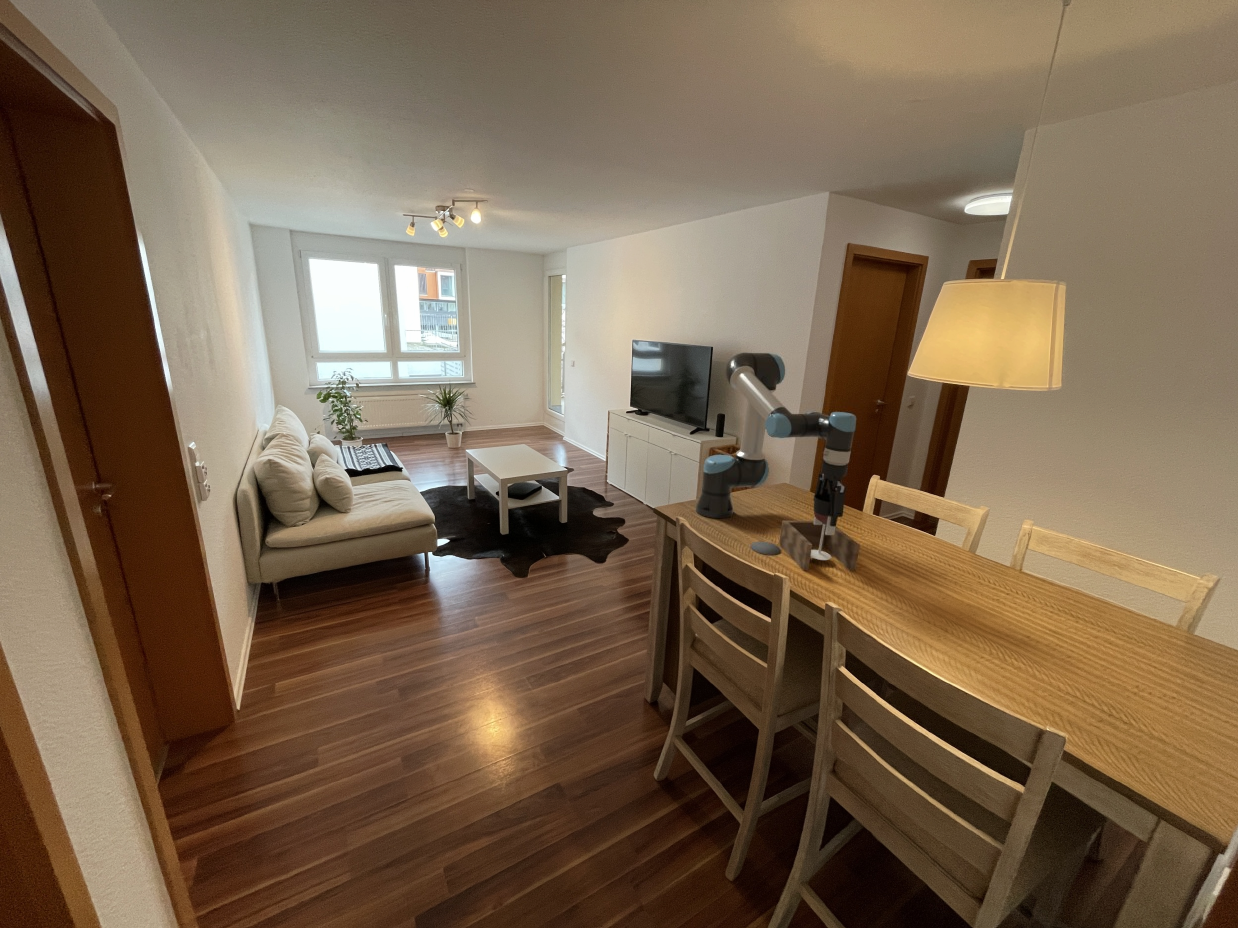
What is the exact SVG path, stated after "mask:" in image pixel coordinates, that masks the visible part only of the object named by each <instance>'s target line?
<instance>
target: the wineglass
mask: <svg viewBox="0 0 1238 928" xmlns="http://www.w3.org/2000/svg"><path fill="white" fill-rule="evenodd" d="M814 495H815V494H814ZM819 497H820V494H817V495H815V498H814V497H813V499H814V500H813V515H814V517H816V518H817V519H818V520H819V521H820V522H822V523H823V528H822V533H821V539H820V545H819V547H818V549H812V550H811V556H810V558H813V559H815V560H816V559H817V560H820V561H827V560H830V559H832V555H831V554H829V553H828V552H826V551H823V550H822V549H823V547H822V542H823V536H824V531H825V525H826V524H827V519H828V515H830V506H831V502H830V495H828V497H827V499H826V500H825V501H822V500H819ZM833 513H834V512H833Z"/></svg>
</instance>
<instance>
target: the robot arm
mask: <svg viewBox="0 0 1238 928" xmlns="http://www.w3.org/2000/svg"><path fill="white" fill-rule="evenodd" d="M785 365H786V364H785V362H784V360H783V359H782V357H781V356H779V354H777V353H776V354H775V353H769V352H740V353H737V354H734V355H733V356H732V357H731V358H730V359H729V360H728V362H727V363H726V365H725V369H724V373H725V378H726V380H727V382H728V383H729V385H730V386H731V387H732V388H733V389H734V390H738V391H739V392H740V393H741V394H742V396H743V397H744V398H745V399H746V400H747V401H746V408H745V414H744V421H743V428H742V436H741V442H740V449H739V450H737V451H736V452H735V456H734V457H735V458H734V457H733V456H732V455H728V454H715V455H711V456H708V457H706V459H705V461H704V462H703V463H704V464H703V469H702V471H703V473H702V484H701V492H700V496H699V497H698V499H697V503H696V504H695V512H696V513H698V515H700V516H703V517H708V518H712V519H726V518H730V517H732V516H733V514H734V506H733V501H732V497H731V494H732V493H731V492H732V489H733V488H745V487H747V488H749V487H750V488H751V487H753V488H754V487H756V486H757V487H758V486H761V485H762V484H765V482H766V481H767V479H768V476H769V473H770V467H769V463H768V461H767V459H766V456H765V454H764V453H763V447H764V442H765V441H764V440H765V434H766V433H767V435H768V436H769V437H771V438H776V439H777V438H778V439H786V438H787V439H788V438H789V439H790V438H819V439H822V440H825V444H824V451H823V456H822V459H823V460H822V462H821V467H820V471H821V473H818V474H817V475H818V477H817V482H816V483H817V484H816V487H815V492H814V495H813V499H812V500H813V501H814V498H815V495H817V494H820V497H819V500H822V501H825V500H826V499H827V497H828V495H830V502H831V506H830V515H828V519H827V525H826V531H825V535H834V533H835V528H836V527H837V522H838V518H842V517H844V508H845V498H846V493H847V489H848V488H847V485H843V484H842V483H843V480H842V478H843V477H846V476H847V473H848V467H849V465H848V464H849V462H850V457H851V452H852V445H853V440H854V435H855V431H856V427H857V426H856V424H857V416H856V415H855V414H853V413H849V412H845V411H843V412H842V411H841V412H840V411H833V412H831V413H830V415H827V414H825V413H820V412H817V411H807V412H806V413H791V412H790V410H788V408H787V407H786V406H784V404H783V403H782V402H781V401H780V400H779V399H778V398H777V397H776V396H775V395H774V394H773V393H774V392H776V389H777V385H780V384H781V383H783V381H784V379H785V377H786V376H785V375H786V366H785ZM833 512H834V513H833ZM813 521H814V523H813V524H814V525H822V522H820V521H819V520H818V519H817V518H816V517H815V516H814V517H813Z"/></svg>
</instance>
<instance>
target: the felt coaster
mask: <svg viewBox="0 0 1238 928" xmlns="http://www.w3.org/2000/svg"><path fill="white" fill-rule="evenodd" d="M750 549H751V550H752V551H753V552H756V553H758V554H760V555H766V556H775V555H779V554H780V553H781V552H782V551H781V548H780V547H779V546H778V545H776V543H775V544H774V543H772V542H768V541H755V542H752V543H751V544H750Z"/></svg>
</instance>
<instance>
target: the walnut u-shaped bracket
mask: <svg viewBox="0 0 1238 928" xmlns="http://www.w3.org/2000/svg"><path fill="white" fill-rule="evenodd" d="M781 521H782V522H781V527H780V529H781V530H780V533H779V534H780V536H779V543H778V544H779V546H780V547H781V548H782V549H783V550H784V551H785V552H786V553H787V555H789V557H790V558H791V559H792V560H793V561H794V562H795V563H796V565H798V567H799V568H800V569H801V570H802V571H803V572H805V571H806V572H807V571H809V568H810V562H811V550H813V547H818V548H819V545H820V539H821V533H822V528H823V523H822V525H814V524H813V523H814V520H781ZM826 525H827V524H826ZM826 525H825V531H826ZM825 531H824V536H823V542H822V548H824V549H826V551H827V552H829V553H830V555H831V556H833V557H834V558H835V559H836V560H838V562H840V563H841V564H842V565H843V566H844V567H845V568H846V569H847V570H849V572H856V569H857V565H858V559H859V553H860V548H861V545H860V544H859V543H858V542H857V541H855V540H854V539H853V538H852V537H850V536H849V535H848V534H846V533H845V532H844V531H843V530H842V529H840V528H838V526H836V528H835V533H834V535H825Z"/></svg>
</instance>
